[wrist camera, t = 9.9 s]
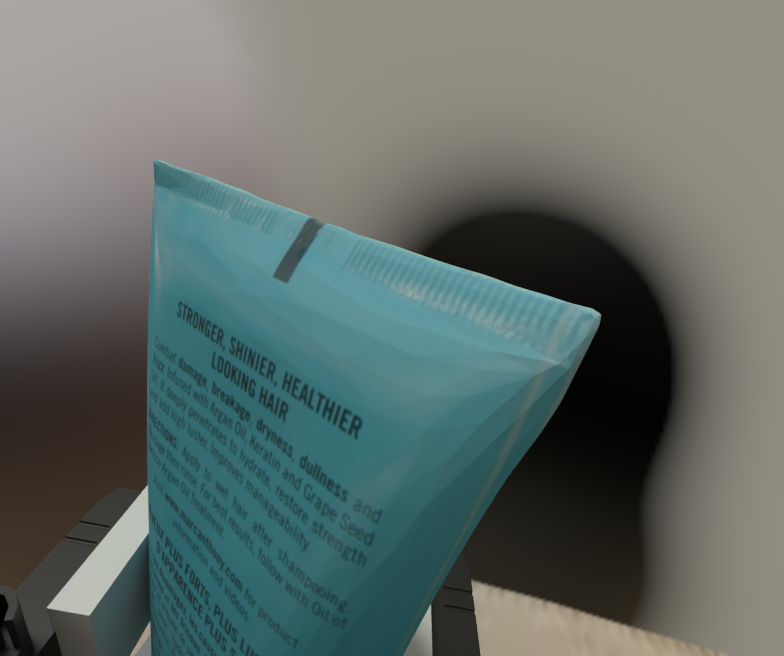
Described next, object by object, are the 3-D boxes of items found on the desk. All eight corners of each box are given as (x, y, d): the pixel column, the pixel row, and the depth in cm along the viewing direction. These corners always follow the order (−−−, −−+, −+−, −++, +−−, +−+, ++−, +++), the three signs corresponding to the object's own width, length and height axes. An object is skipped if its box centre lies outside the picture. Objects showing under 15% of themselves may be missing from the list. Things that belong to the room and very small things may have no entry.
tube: (378, 812, 13) (614, 267, 5) (271, 1078, 9) (582, 444, 1) (228, 660, 16) (242, 166, 8) (96, 813, 12) (-105, 135, 4)
